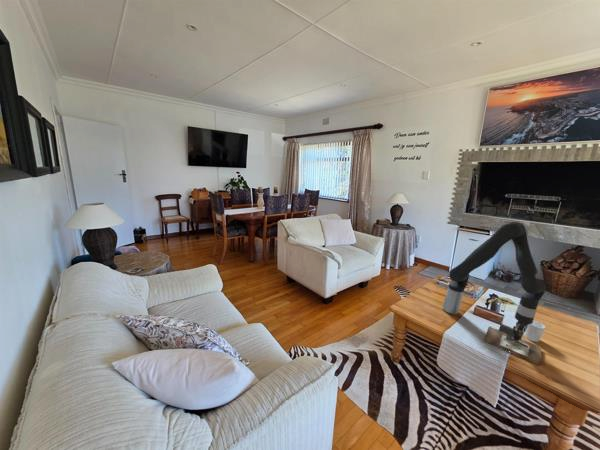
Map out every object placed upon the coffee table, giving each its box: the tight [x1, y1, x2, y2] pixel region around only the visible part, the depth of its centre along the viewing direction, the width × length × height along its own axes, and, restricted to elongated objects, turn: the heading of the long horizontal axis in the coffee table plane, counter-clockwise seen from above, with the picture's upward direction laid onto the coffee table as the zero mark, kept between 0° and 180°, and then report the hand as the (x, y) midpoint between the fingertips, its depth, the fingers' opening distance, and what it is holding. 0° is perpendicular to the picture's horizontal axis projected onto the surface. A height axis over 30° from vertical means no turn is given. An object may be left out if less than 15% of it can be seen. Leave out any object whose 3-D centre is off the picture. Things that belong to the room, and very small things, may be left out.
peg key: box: [498, 323, 528, 347], centre depth 141 cm, size 14×2×7 cm, turn 39°
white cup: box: [523, 320, 546, 343], centre depth 146 cm, size 8×8×10 cm
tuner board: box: [483, 326, 542, 366], centre depth 140 cm, size 24×16×2 cm, turn 46°
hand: (517, 339), depth 140 cm, fingers closed on peg key, 2 cm apart
